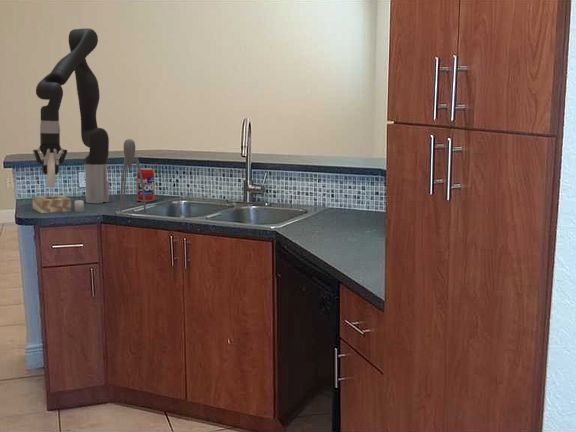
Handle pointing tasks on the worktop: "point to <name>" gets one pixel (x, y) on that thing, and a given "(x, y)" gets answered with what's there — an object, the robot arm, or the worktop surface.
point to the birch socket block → (51, 204)
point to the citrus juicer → (128, 160)
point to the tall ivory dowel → (50, 171)
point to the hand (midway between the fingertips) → (50, 173)
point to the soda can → (146, 185)
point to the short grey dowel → (79, 206)
